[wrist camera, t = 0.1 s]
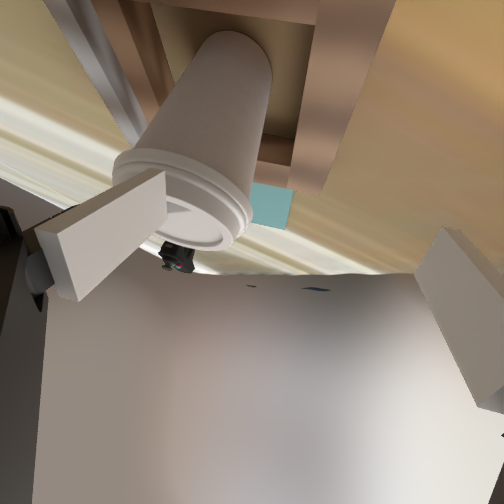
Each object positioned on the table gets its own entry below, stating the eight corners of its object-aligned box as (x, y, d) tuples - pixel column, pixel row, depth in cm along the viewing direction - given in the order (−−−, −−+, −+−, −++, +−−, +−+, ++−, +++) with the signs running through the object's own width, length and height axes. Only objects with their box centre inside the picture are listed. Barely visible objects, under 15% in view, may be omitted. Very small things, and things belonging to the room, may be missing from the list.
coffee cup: (289, 2, 18) (226, 192, 13) (291, 122, 26) (254, 263, 21) (161, 6, 20) (61, 170, 15) (201, 116, 29) (147, 243, 23)
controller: (188, 221, 55) (171, 266, 51) (204, 245, 66) (191, 284, 63) (168, 217, 56) (150, 262, 52) (188, 242, 67) (174, 280, 64)
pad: (190, 155, 35) (188, 159, 35) (296, 176, 34) (295, 180, 33) (208, 210, 48) (207, 213, 48) (285, 226, 47) (284, 229, 46)
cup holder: (46, -133, 15) (-12, -86, 13) (423, -102, 13) (419, -40, 11) (163, 139, 34) (146, 175, 32) (324, 170, 31) (317, 210, 30)
